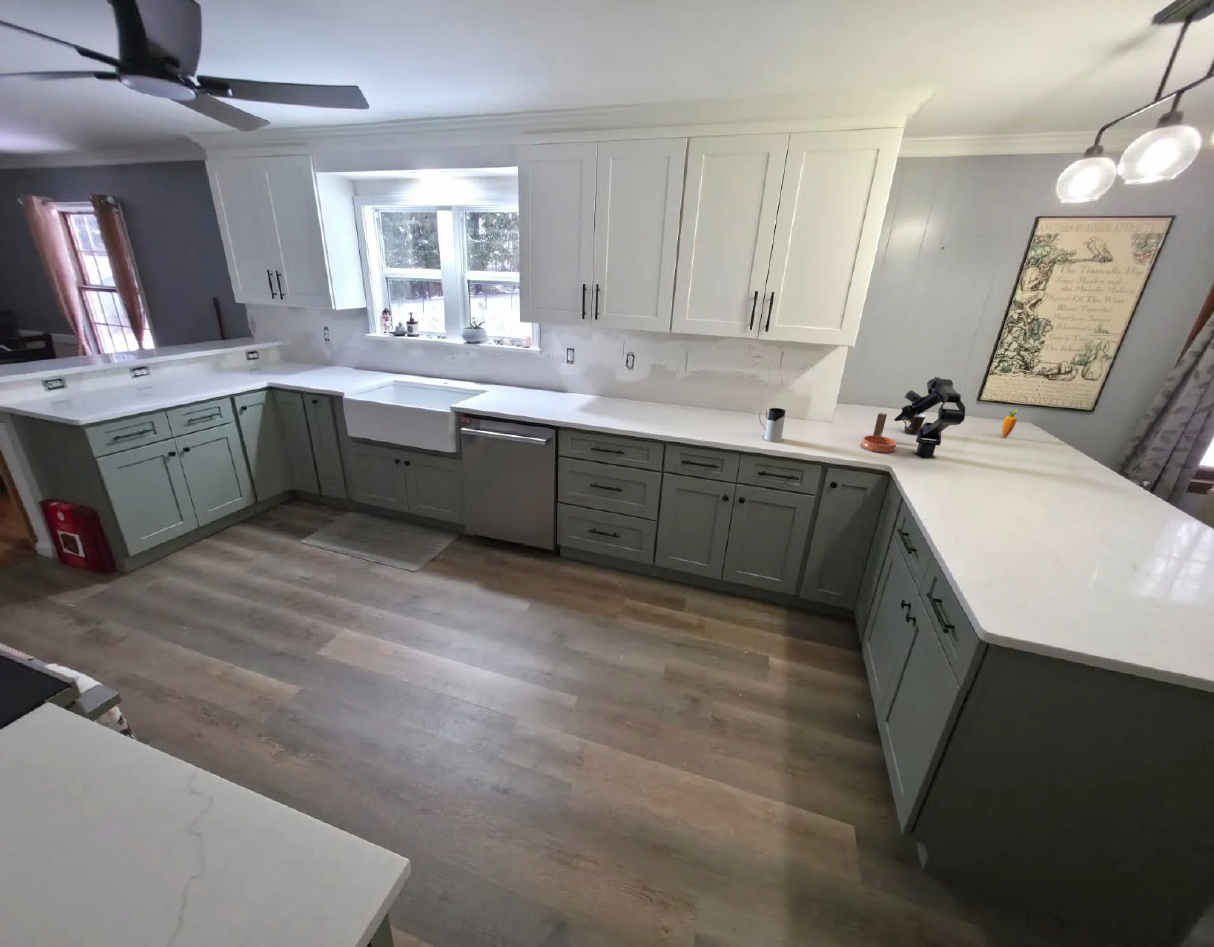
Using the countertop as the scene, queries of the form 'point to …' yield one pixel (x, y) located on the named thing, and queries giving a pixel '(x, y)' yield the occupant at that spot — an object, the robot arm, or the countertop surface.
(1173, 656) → the countertop surface
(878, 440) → the bowl
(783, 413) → the white pitcher
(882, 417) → the brown wooden block
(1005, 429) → the carrot
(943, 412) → the robot arm
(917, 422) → the coffee mug
